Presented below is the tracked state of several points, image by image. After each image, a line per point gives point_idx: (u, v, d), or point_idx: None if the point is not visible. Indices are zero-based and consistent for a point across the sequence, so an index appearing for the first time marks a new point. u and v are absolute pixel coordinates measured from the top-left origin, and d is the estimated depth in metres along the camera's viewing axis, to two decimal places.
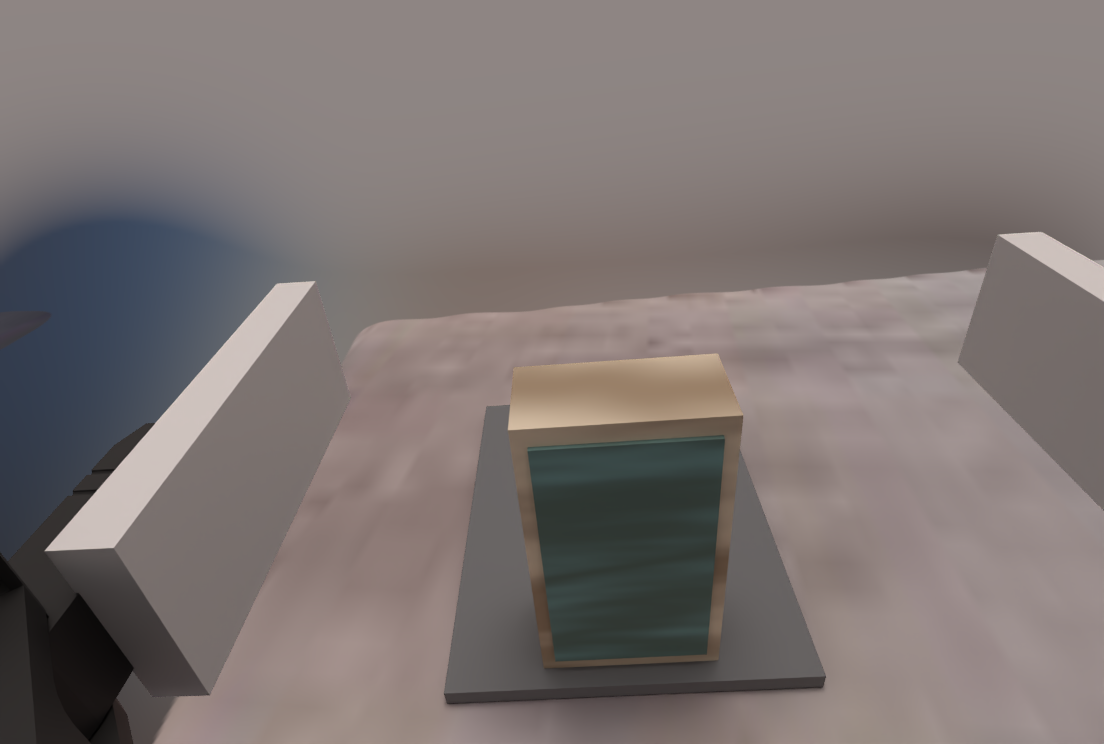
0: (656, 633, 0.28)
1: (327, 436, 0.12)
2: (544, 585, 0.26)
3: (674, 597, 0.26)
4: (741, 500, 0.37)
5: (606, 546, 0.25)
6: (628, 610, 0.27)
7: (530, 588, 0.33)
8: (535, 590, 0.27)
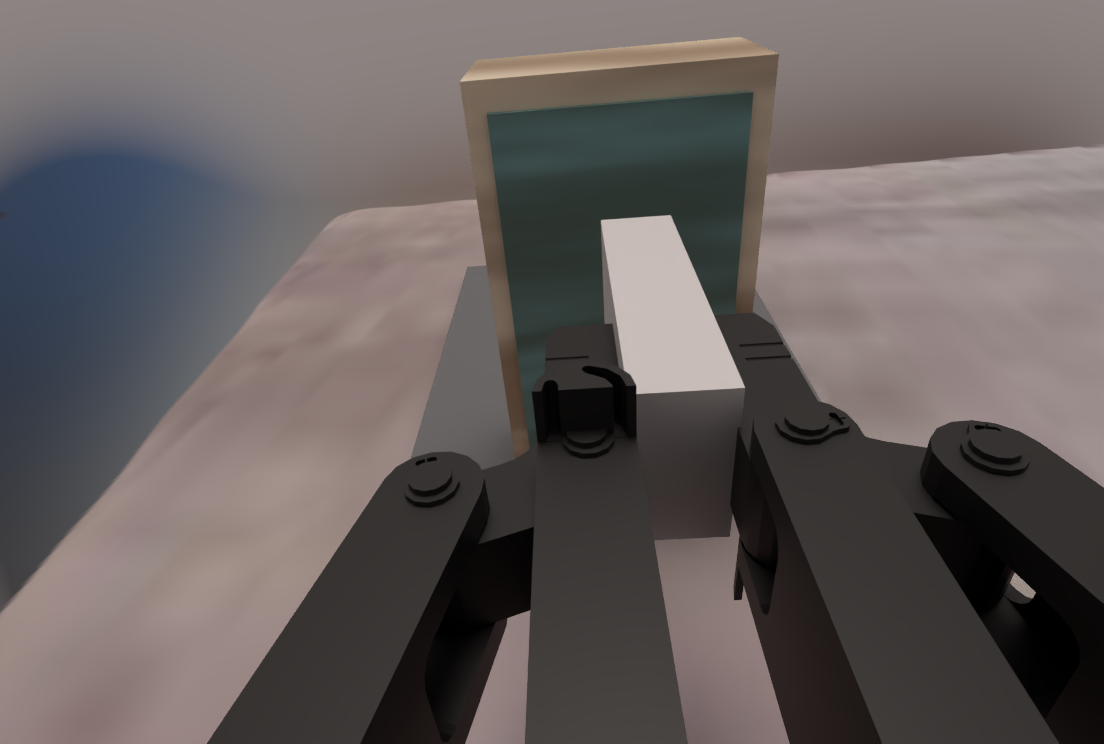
0: None
1: None
2: (516, 354, 0.21)
3: None
4: None
5: (594, 284, 0.19)
6: None
7: (507, 416, 0.28)
8: (505, 362, 0.21)
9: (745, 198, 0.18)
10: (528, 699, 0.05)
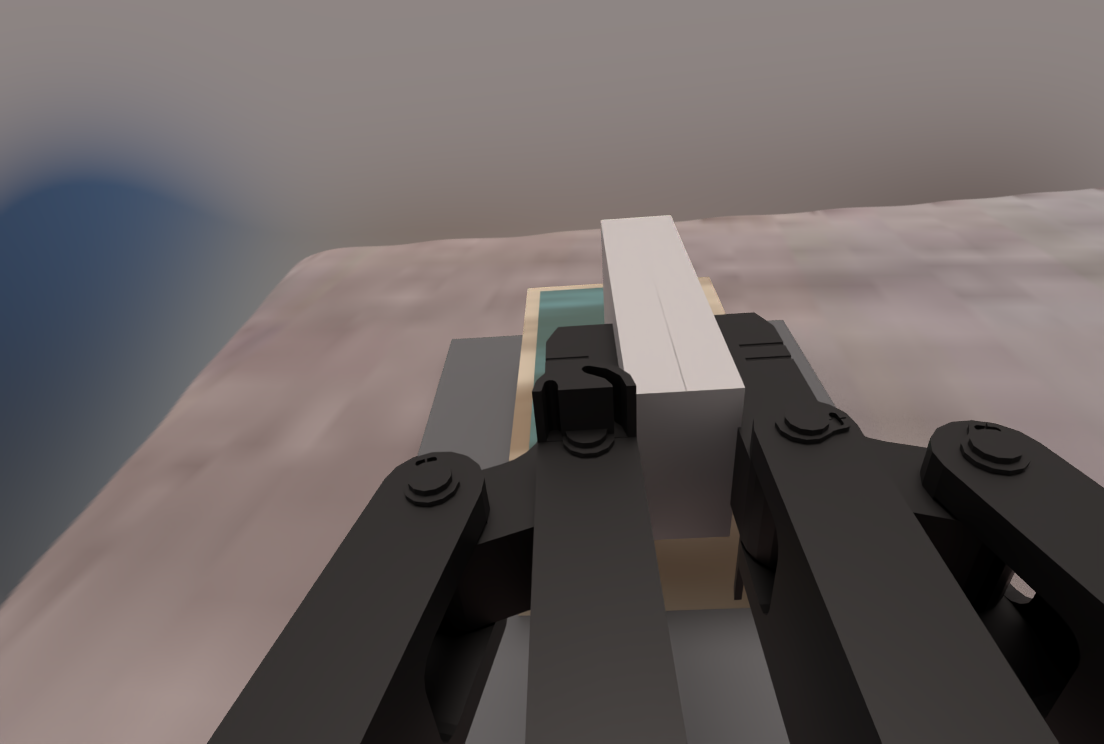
0: None
1: None
2: None
3: None
4: None
5: None
6: None
7: None
8: (520, 397, 0.21)
9: None
10: (528, 699, 0.05)
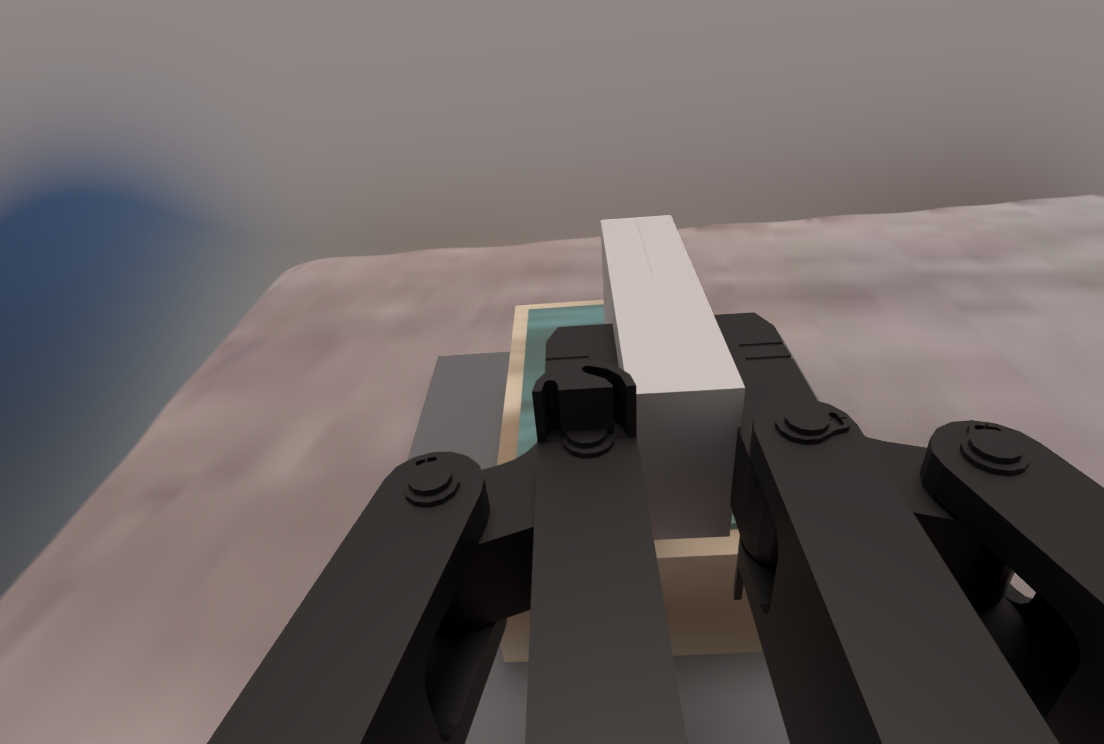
0: None
1: None
2: (518, 420, 0.21)
3: None
4: None
5: None
6: None
7: None
8: (505, 426, 0.20)
9: None
10: (528, 699, 0.05)
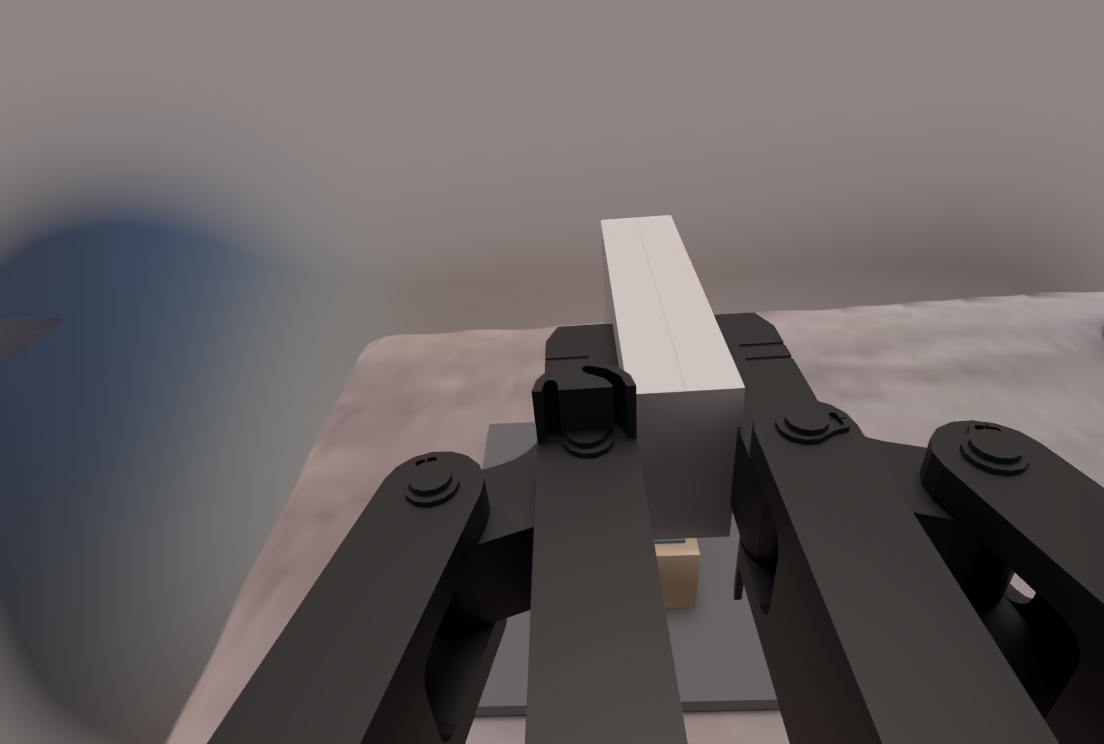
0: None
1: None
2: None
3: None
4: None
5: None
6: None
7: None
8: None
9: None
10: (528, 699, 0.05)
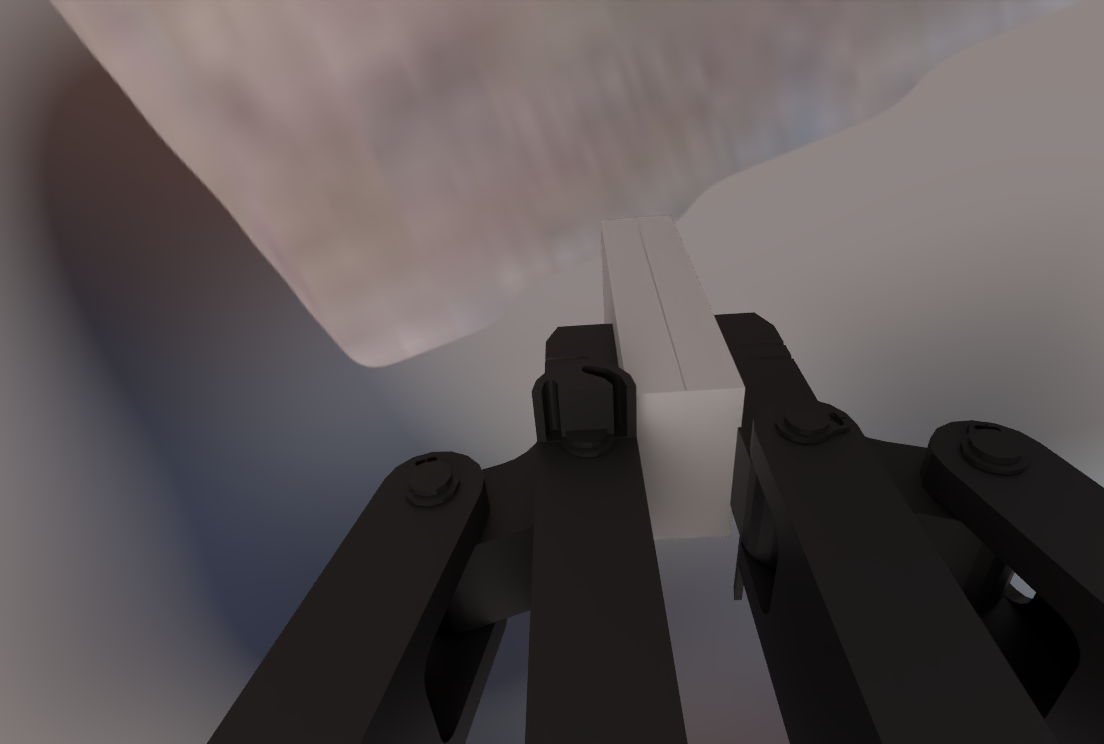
0: None
1: None
2: None
3: None
4: None
5: None
6: None
7: None
8: None
9: None
10: (528, 699, 0.05)
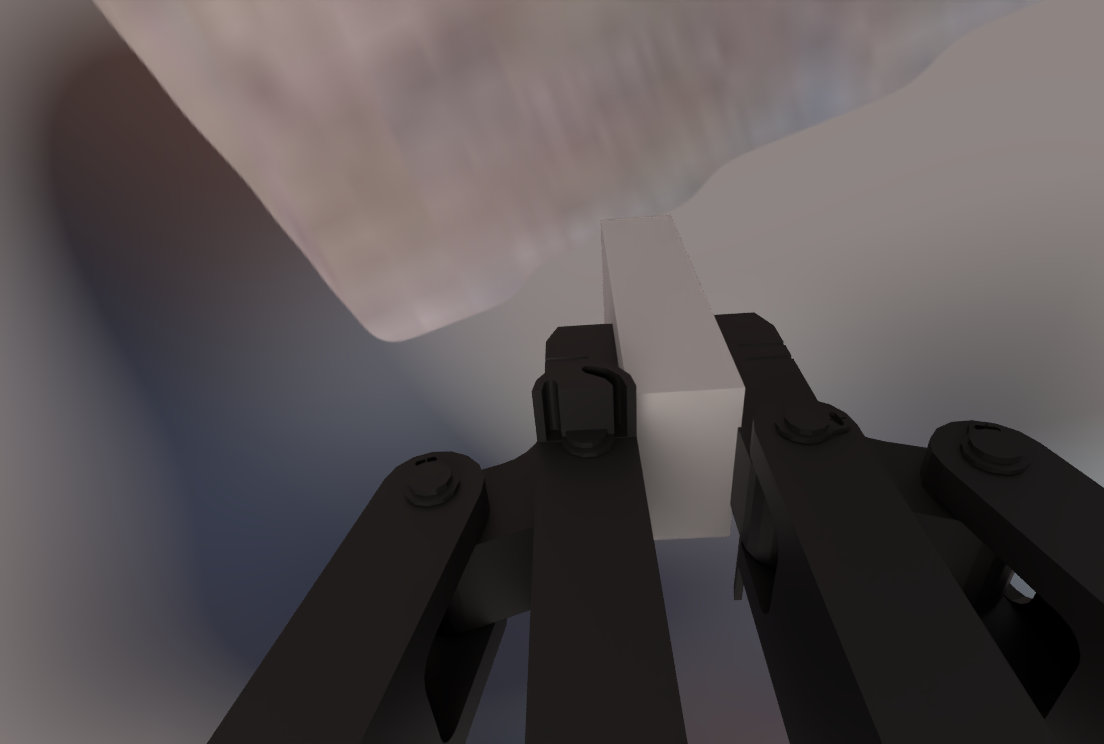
0: None
1: None
2: None
3: None
4: None
5: None
6: None
7: None
8: None
9: None
10: (528, 699, 0.05)
